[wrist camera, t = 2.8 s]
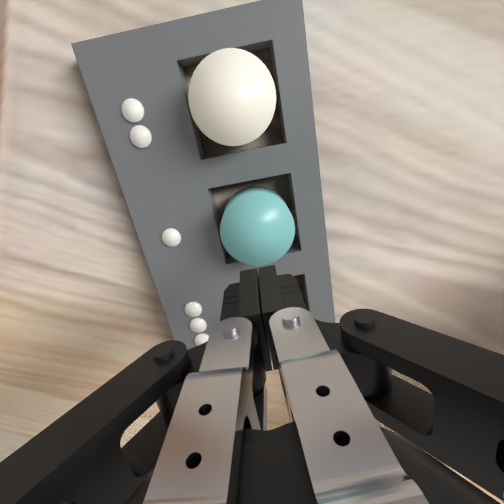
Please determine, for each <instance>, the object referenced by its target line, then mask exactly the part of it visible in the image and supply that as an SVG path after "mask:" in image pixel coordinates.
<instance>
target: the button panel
mask: <svg viewBox="0 0 504 504" xmlns="http://www.w3.org/2000/svg"><path fill="white" fill-rule="evenodd" d="M71 45H72V48H73V51H74V54H75V57H76V59H77V62H78V65H79V68H80V71H81V74H82V77H83V80H84V82H85V85H86V88H87V91H88V94H89V97H90V100H91V103H92V106H93V108H94V111H95V114H96V117H97V120H98V123H99V126H100V129H101V131H102V134H103V137H104V140H105V143H106V146H107V149H108V152H109V155H110V157H111V160H112V163H113V166H114V169H115V172H116V175H117V178H118V181H119V183H120V186H121V189H122V192H123V195H124V198H125V201H126V204H127V206H128V209H129V212H130V215H131V218H132V221H133V224H134V227H135V230H136V232H137V235H138V238H139V241H140V244H141V247H142V250H143V253H144V256H145V258H146V261H147V264H148V267H149V270H150V273H151V276H152V279H153V281H154V284H155V287H156V290H157V293H158V296H159V299H160V302H161V305H162V307H163V310H164V313H165V316H166V319H167V322H168V325H169V328H170V330H171V333H172V336H173V339H174V340H177V341H181V342H183V343H184V344H185V345H186V348H187V350H188V349H191V348H193V347H196V346H198V345H201V344H203V343H205V342H207V341H208V338H209V335H210V332H211V330H212V328H213V327H214V326H215V325H216V324H217V323H219V322H220V316H221V309H222V302H223V295H224V290H225V289H226V288H227V287H228V286H229V284H233V283H239V282H240V271H242V270H248V269H253V268H257V270H258V268H259V267H264V266H270V265H275V268H276V272H277V276H278V275H283V274H291V275H292V276H295V275H301V274H302V276H303V283H304V290H305V298H306V305H307V310H308V311H309V312H310V313H311V314H312V316H313V318H314V319H316V320H319V321H322V322H328V323H335V315H334V305H333V296H332V286H331V276H330V267H329V257H328V247H327V237H326V228H325V218H324V208H323V199H322V189H321V179H320V169H319V160H318V150H317V140H316V131H315V121H314V111H313V101H312V92H311V82H310V72H309V63H308V53H307V43H306V33H305V24H304V14H303V4H302V0H261V1H256V2H252V3H248V4H243V5H239V6H234V7H230V8H226V9H221V10H217V11H212V12H208V13H204V14H199V15H195V16H191V17H186V18H182V19H177V20H173V21H169V22H164V23H160V24H156V25H151V26H147V27H142V28H138V29H134V30H129V31H125V32H120V33H116V34H112V35H107V36H103V37H99V38H94V39H90V40H85V41H81V42H77V43H72V44H71ZM225 48H237V49H242V50H245V51H248V52H254V51H259V50H264V49H268V48H270V50H271V57H272V64H273V71H274V78H275V85H276V92H277V99H278V106H279V113H280V120H281V128H282V135H283V142H282V143H277V144H272V145H267V146H262V147H257V148H252V149H247V150H242V151H237V152H232V153H227V154H222V155H217V156H212V157H207V158H204V154H203V149H202V145H201V141H200V137H199V133H198V128H197V125H196V123H195V121H194V119H193V117H192V114H191V111H190V107H189V100H188V92H189V90H188V86H187V82H186V78H185V73H184V69H183V67H186V66H190V65H195V64H199V63H200V62H201V61H202V60H203V59H204V58H205V57H206V56H208V55H209V54H211V53H213V52H215V51H217V50H220V49H225ZM287 173H288V177H289V184H290V191H291V198H292V205H293V213H294V220H295V227H296V234H297V241H298V242H296V243H292V245H291V246H290V248H289V250H288V251H287V252H286V253H285V254H284V255H283V256H282V257H281V258H280V259H278V260H277V261H275V262H273V263H270V264H266V265H260V266H254V265H248V264H244V263H242V262H240V261H238V260H236V259H235V258H233V257H232V256H231V255H227V251H226V249H225V247H224V245H223V243H222V240H221V236H220V221H219V217H218V213H217V209H216V204H215V200H214V196H213V192H212V188H215V187H220V186H225V185H230V184H235V183H241V182H246V181H251V180H256V179H261V178H266V177H271V176H277V175H282V174H287ZM258 275H259V272H258ZM271 360H272V358H271Z"/></svg>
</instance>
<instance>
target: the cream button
mask: <svg viewBox="0 0 504 504" xmlns="http://www.w3.org/2000/svg"><path fill="white" fill-rule="evenodd" d="M188 100H189V107H190V111H191V114H192V117H193V119H194V121H195V123H196V125H197V126H198V127H199V129H200V130H201V131H202V132H203V133H204V134H205V135H206V136H207V137H208V138H210V139H211V140H213V141H215V142H217V143H219V144H222V145H227V146H240V145H244V144H247V143H250V142H252V141H254V140H255V139H257V138H258V137H259V136H260V135H261V134H262V133H263V132H264V131H265V130H266V129H267V127H268V126H269V124H270V122H271V120H272V118H273V115H274V112H275V107H276V89H275V85H274V81H273V78H272V76H271V74H270V72H269V70H268V69H267V67H266V66H265V65H264V63H263V62H262V61H261V60H260V59H259V58H257V57H256V56H255V55H253V54H252V53H250V52H248V51H245V50H242V49H237V48H225V49H220V50H217V51H215V52H213V53H211V54H209V55H208V56H206V57H205V58H204V59H203V60H202V61H201V62H200V63H199V65H198V66H197V68H196V69H195V71H194V73H193V75H192V77H191V81H190V85H189V92H188Z"/></svg>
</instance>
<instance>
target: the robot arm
mask: <svg viewBox="0 0 504 504" xmlns="http://www.w3.org/2000/svg"><path fill="white" fill-rule="evenodd" d="M258 272H259V275H258ZM270 353H271V356H270ZM271 358H272V362H273V367H274V370H276V369H279V374H280V379H281V384H282V389H283V393H284V397H285V401H286V406H287V410H288V414H289V418H290V422H291V423H288V424H286V425H283V426H281V427H278V428H276V429H273V430H266V417H267V389H266V384H265V382H266V373H265V371H270V370H272V365H271ZM392 369H393V370H395V371H397V372H399V373H401V374H403V375H406V376H408V377H410V378H412V379H414V380H416V381H418V382H420V383H422V384H423V385H424V386H426V387H427V388H428V389H429V390H430V392H431V393H432V394H430V393H428V392H426V391H424V390H422V389H420V388H418V387H416V386H414V385H412V384H410V383H408V382H406V381H404V380H402V379H400V378H398V377H396V376H394V375H392ZM155 402H157V405H158V407H159V410H160V412H159V413H158V414H157V415H156V416H155V417H154V418H153V419H152V420H151V421H149V422H148V423H147V424H146V425H145V426H144V427H143V428H142V429H141V430H140V431H139V432H138V433H137V434H136V435H135V436H134V437H133V438H132V439H131V440H130V441H129V442H128V443H126V444H125V445H124V446H123V447H122V448H121V447H120V440H121V437H122V435H123V433H124V431H125V430H126V429H127V427H128V426H130V425H131V424H132V423H133V422H134V421H135V420H136V419H137V418H138V417H139V416H140V415H142V414H143V413H144V412H145V411H146V410H147V409H148V408H149V407H150V406H151V405H152V404H153V403H155ZM375 419H376V420H378V421H380V422H381V423H383V424H384V425H386V426H387V427H389V428H390V429H392V430H394V431H395V432H397V433H398V434H400V435H401V436H403V437H404V438H403V437H401V436H399V435H397V434H396V433H394V432H391V431H389V430H387V429H384V428H381V427H379V425H378V423H377V422H376V420H375ZM405 438H406V439H408V440H409V441H408V440H406V439H405ZM410 441H411V442H412V443H411V442H410ZM413 443H414V444H415V445H417V446H418V447H420V448H422V449H423V450H425V451H426V452H428V453H429V454H431V455H432V456H434V457H436V458H437V459H439V460H440V461H442V462H443V463H445V464H446V465H448V466H449V467H451V468H453V469H454V470H456V471H457V472H459V473H460V474H462V475H463V476H465V477H467V478H468V479H470V480H471V481H473V482H474V483H476V484H477V485H479V486H481V487H482V488H484V489H485V490H487V491H488V492H490V493H491V494H493V495H495V496H496V497H498V498H499V499H501V500H502V501H504V355H502V354H499V353H496V352H493V351H490V350H487V349H484V348H482V347H479V346H476V345H473V344H470V343H467V342H464V341H461V340H459V339H456V338H453V337H450V336H447V335H444V334H441V333H439V332H436V331H433V330H430V329H427V328H424V327H421V326H418V325H416V324H413V323H410V322H407V321H404V320H401V319H398V318H396V317H393V316H390V315H387V314H384V313H381V312H378V311H375V310H371V309H356V310H352V311H349V312H347V313H345V314H344V315H343V316H342V317H341V319H340V323H328V322H322V321H319V320H316V319H314V318H313V316H312V314H311V313H310V312H309V311H308V310H307V308H306V305H305V302H304V299H303V296H302V294H301V291H300V288H299V285H298V282H297V279H296V278H295V277H294V276H292V275H291V274H283V275H278V276H277V272H276V268H275V265H270V266H264V267H259V268H258V270H257V268H253V269H248V270H242V271H240V282H239V283H233V284H229V286H228V287H227V288H226V289H225V290H224V295H223V302H222V309H221V316H220V322H219V323H217V324H216V325H215V326H214V327H213V328H212V330H211V332H210V335H209V338H208V341H207V342H205V343H203V344H201V345H198V346H196V347H193V348H191V349H188V350H187V348H186V345H185V344H184V343H183V342H181V341H177V340H171V341H166V342H163V343H160V344H158V345H156V346H154V347H153V348H151V349H150V350H149V351H147V352H146V353H145V354H143V355H142V356H141V357H139V358H138V359H137V360H135V361H134V362H133V363H131V364H130V365H129V366H127V367H126V368H125V369H123V370H122V371H121V372H120V373H118V374H117V375H116V376H114V377H113V378H112V379H110V380H109V381H108V382H106V383H105V384H104V385H102V386H101V387H100V388H98V389H97V390H96V391H94V392H93V393H92V394H90V395H89V396H88V397H86V398H85V399H84V400H82V401H81V402H80V403H79V404H77V405H76V406H75V407H73V408H72V409H71V410H69V411H68V412H67V413H65V414H64V415H63V416H61V417H60V418H59V419H57V420H56V421H55V422H53V423H52V424H51V425H49V426H48V427H47V428H45V429H44V430H43V431H41V432H40V433H39V434H38V435H36V436H35V437H34V438H32V439H31V440H30V441H28V442H27V443H26V444H24V445H23V446H22V447H20V448H19V449H18V450H16V451H15V452H14V453H12V454H11V455H10V456H8V457H7V458H6V459H4V460H3V461H2V462H0V504H500V503H499V502H497V501H496V500H494V499H493V498H492V497H490V496H489V495H487V494H486V493H484V492H483V491H481V490H480V489H478V488H477V487H475V486H474V485H473V484H471V483H470V482H468V481H467V480H465V479H464V478H462V477H461V476H459V475H458V474H456V473H455V472H454V471H452V470H451V469H449V468H448V467H446V466H445V465H443V464H442V463H440V462H439V461H437V460H436V459H435V458H433V457H432V456H430V455H429V454H427V453H426V452H424V451H423V450H421V449H420V448H418V447H417V446H415V445H414V444H413Z"/></svg>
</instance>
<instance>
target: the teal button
mask: <svg viewBox="0 0 504 504" xmlns="http://www.w3.org/2000/svg"><path fill="white" fill-rule="evenodd" d="M294 235H295V224H294V219H293V217H292V214H291V212H290V211H289V209H288V207H287V205H286V203H285V201H284V200H283V198H282V197H281V196H280V195H279V194H278V193H276V192H275V191H273V190H271V189H269V188H266V187H261V186H252V187H247V188H244V189H242V190H240V191H238V192H237V193H236V194H234V195H233V196H232V197H231V199H230V200H229V201H228V203H227V205H226V207H225V210H224V213H223V217H222V220H221V224H220V236H221V240H222V243H223V245H224V247H225V249H226V250H227V252H228V253H229V254H230V255H231V256H232V257H233V258H235V259H236V260H238V261H240V262H242V263H244V264H248V265H254V266H260V265H266V264H270V263H273V262H275V261H277V260H278V259H280V258H281V257H282V256H283V255H284V254H285V253H286V252H287V251H288V250H289V248H290V246H291V245H292V242H293V239H294Z"/></svg>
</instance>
